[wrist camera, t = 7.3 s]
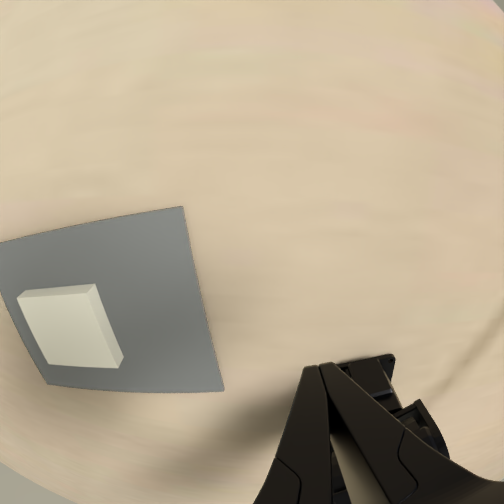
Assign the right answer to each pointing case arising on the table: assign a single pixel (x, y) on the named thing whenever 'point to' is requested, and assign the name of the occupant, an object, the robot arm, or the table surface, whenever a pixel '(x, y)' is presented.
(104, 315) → the tile
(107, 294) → the mat
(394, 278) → the table surface
